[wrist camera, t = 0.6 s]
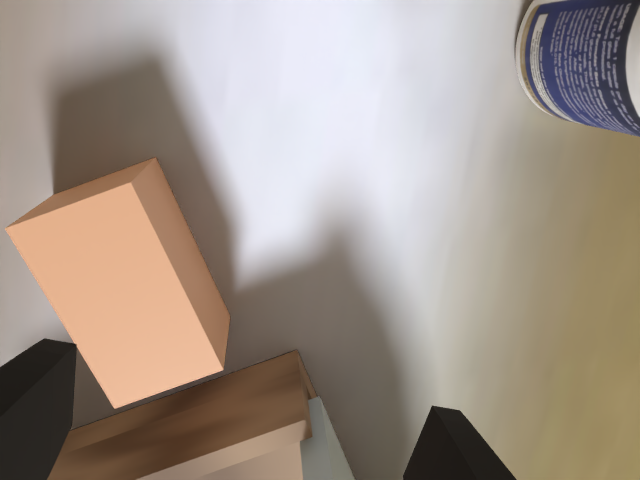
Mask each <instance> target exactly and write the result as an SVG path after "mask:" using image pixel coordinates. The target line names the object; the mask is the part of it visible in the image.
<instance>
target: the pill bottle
mask: <svg viewBox="0 0 640 480" xmlns="http://www.w3.org/2000/svg"><path fill="white" fill-rule="evenodd" d="M515 60H516V69H517V74H518V78H519V81H520V83H521V85H522V87H523V89H524V91H525V93H526V94H527V96H528V97H529V98H530V100H531V101H532V102H533V103H534V104H535V105H536V106H537V107H539V108H540V109H541V110H543V111H544V112H546V113H548V114H550V115H551V116H554V117H557V118H560V119H563V120H567V121H571V122H576V123H580V124H585V125H589V126H594V127H599V128H603V129H608V130H612V131H617V132H621V133H626V134H630V135H634V136H639V137H640V0H533V2H532V3H531V5H530V6H529V8H528V10H527V12H526V14H525V16H524V18H523V21H522V23H521V26H520V29H519V33H518V37H517V43H516V51H515Z"/></svg>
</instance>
